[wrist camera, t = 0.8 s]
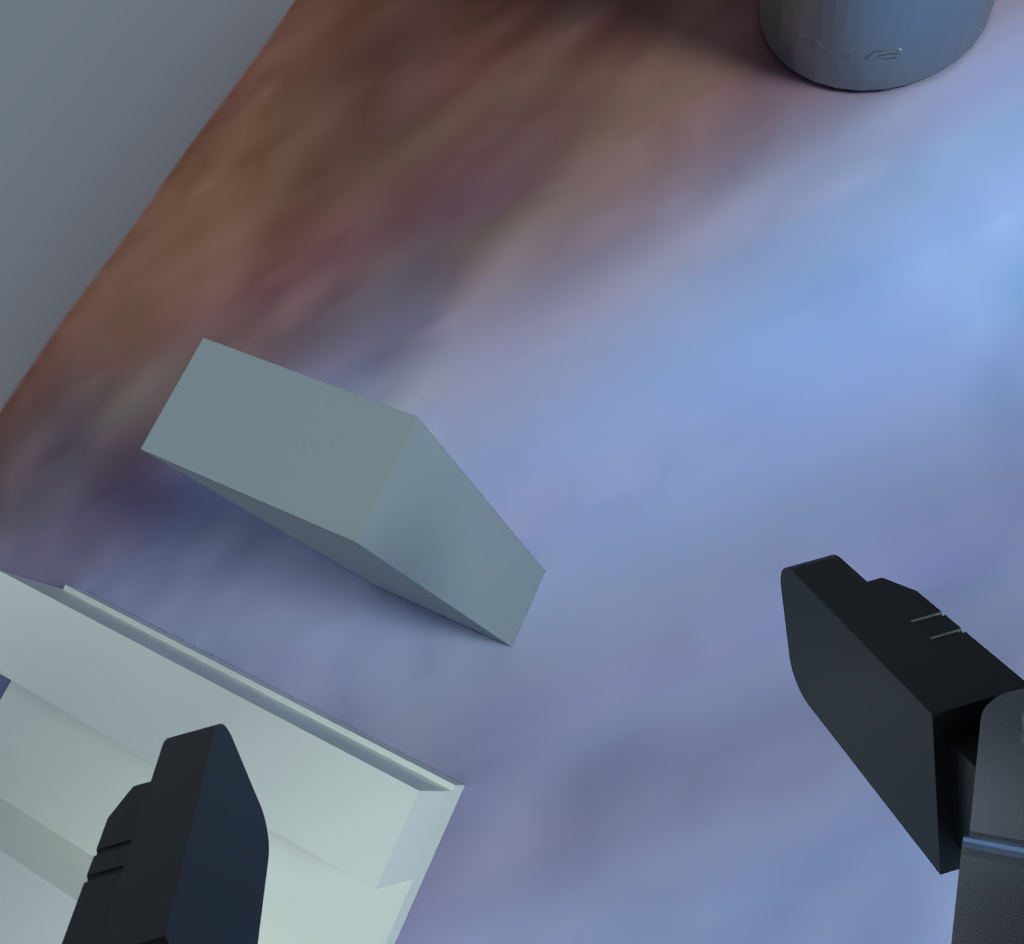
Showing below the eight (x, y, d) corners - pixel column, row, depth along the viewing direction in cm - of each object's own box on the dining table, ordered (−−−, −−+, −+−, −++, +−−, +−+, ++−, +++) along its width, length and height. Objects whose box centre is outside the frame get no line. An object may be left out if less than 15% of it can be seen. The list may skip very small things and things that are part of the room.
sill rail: (84, 590, 38) (-1, 564, 33) (464, 785, 32) (422, 784, 27) (-62, 851, 35) (-175, 860, 31) (319, 1113, 29) (248, 1170, 25)
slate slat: (406, 514, 36) (203, 337, 22) (545, 571, 34) (418, 417, 20) (372, 584, 35) (140, 449, 21) (511, 646, 33) (356, 542, 19)
